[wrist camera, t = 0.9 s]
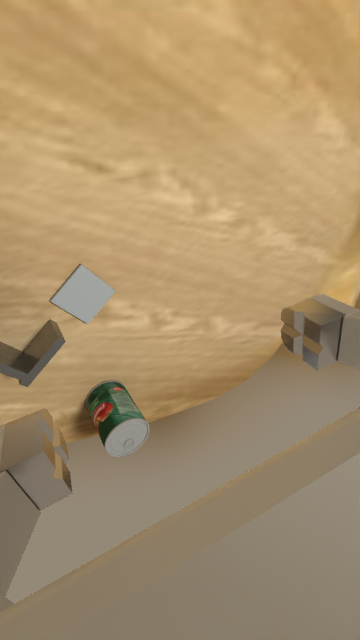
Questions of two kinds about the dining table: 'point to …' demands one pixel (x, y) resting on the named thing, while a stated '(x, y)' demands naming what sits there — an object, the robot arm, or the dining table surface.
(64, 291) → the mat
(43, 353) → the bent rail
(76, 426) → the dining table surface
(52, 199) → the dining table surface
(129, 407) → the canned tomato
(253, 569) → the robot arm
